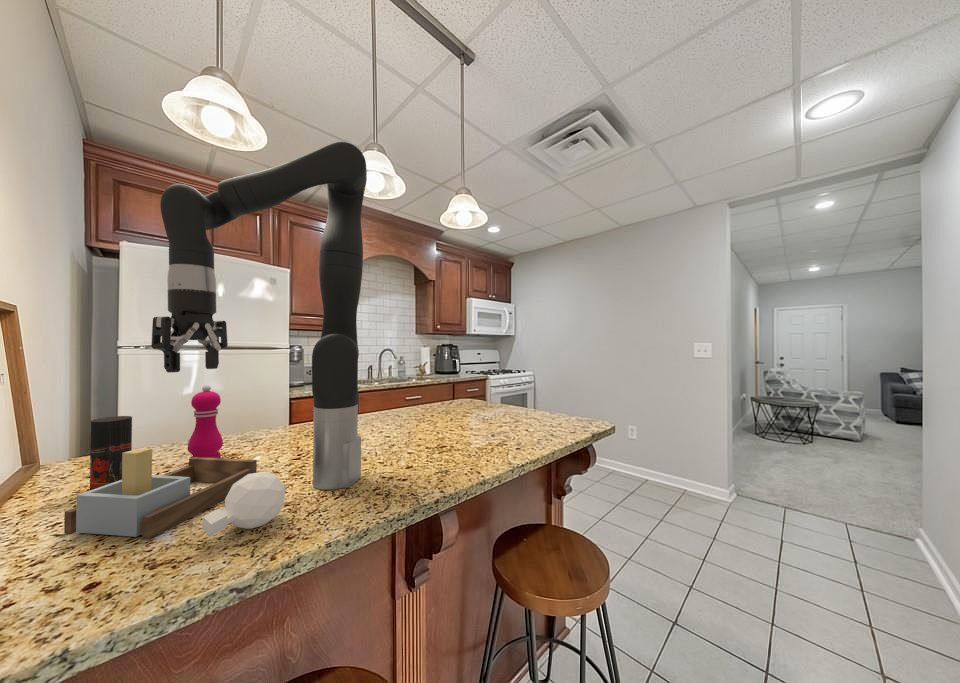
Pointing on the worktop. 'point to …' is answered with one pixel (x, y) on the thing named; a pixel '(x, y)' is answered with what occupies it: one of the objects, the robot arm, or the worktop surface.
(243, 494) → the perfume bottle
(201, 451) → the pepper mill
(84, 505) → the box
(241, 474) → the bay
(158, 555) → the worktop surface
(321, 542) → the worktop surface
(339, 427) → the robot arm
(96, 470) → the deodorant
